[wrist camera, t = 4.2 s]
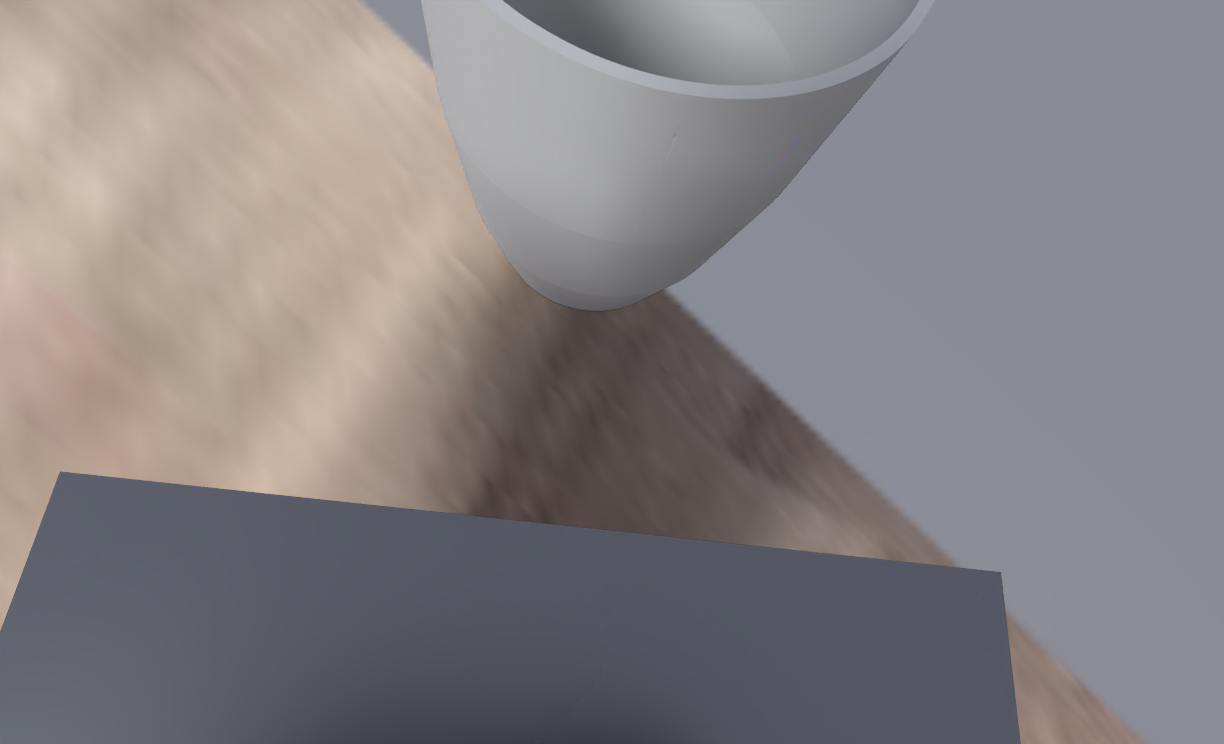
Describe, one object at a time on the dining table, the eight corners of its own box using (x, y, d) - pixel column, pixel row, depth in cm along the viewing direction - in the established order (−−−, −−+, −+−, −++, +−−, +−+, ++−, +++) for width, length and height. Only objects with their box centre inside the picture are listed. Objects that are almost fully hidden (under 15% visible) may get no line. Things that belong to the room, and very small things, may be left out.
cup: (746, 156, 21) (952, -212, 12) (705, 399, 18) (938, 170, 9) (487, 80, 20) (486, -376, 11) (402, 321, 17) (299, -19, 8)
